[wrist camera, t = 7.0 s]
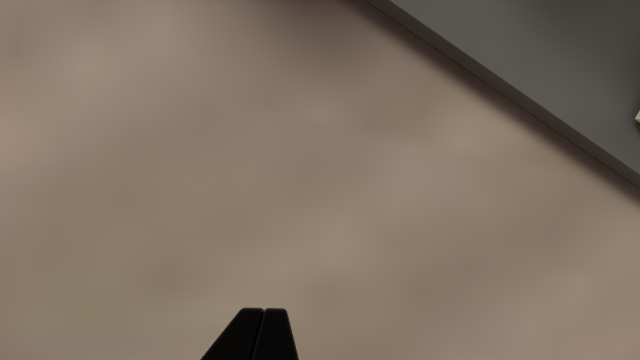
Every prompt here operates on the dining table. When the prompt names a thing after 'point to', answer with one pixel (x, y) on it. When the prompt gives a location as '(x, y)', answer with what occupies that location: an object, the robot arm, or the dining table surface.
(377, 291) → the dining table surface
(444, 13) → the keypad base
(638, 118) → the cream key
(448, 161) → the dining table surface
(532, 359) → the dining table surface
